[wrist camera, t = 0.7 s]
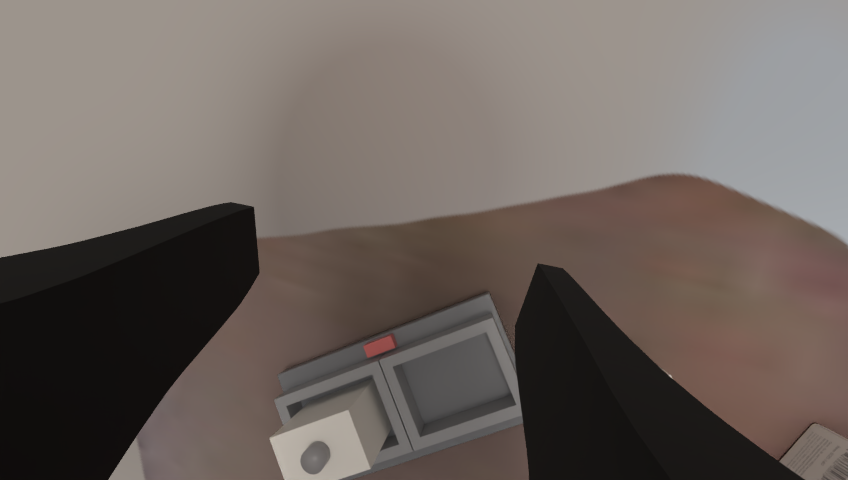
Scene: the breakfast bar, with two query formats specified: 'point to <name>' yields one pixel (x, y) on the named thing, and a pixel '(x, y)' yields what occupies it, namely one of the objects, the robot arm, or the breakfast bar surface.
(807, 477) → the ink cartridge box
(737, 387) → the breakfast bar surface
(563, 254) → the breakfast bar surface
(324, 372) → the grey compartment holder
